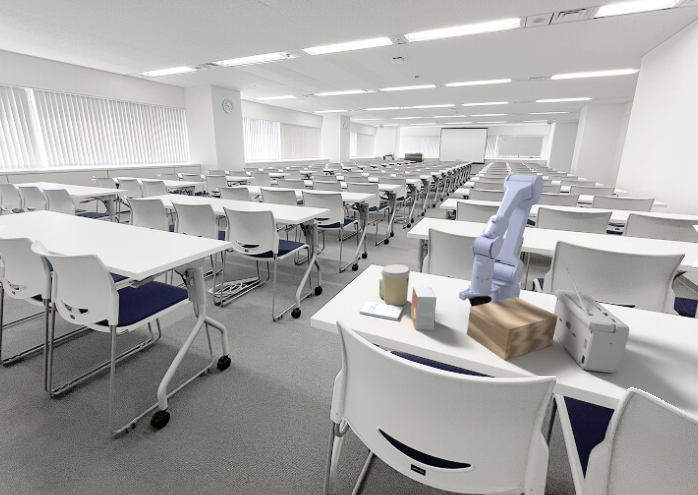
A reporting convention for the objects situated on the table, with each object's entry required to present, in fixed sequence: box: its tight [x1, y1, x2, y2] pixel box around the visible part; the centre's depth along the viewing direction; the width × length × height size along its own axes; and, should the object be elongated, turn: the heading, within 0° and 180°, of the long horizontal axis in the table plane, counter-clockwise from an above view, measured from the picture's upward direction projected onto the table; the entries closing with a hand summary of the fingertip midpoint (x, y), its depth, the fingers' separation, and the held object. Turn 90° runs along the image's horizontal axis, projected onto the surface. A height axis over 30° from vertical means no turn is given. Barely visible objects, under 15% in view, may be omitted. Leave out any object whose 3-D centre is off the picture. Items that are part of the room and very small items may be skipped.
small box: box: [410, 285, 437, 331], centre depth 98 cm, size 8×6×10 cm
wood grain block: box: [466, 297, 558, 361], centre depth 90 cm, size 18×13×9 cm
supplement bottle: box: [378, 269, 384, 300], centre depth 116 cm, size 5×5×10 cm
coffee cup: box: [381, 263, 411, 307], centre depth 112 cm, size 9×9×12 cm
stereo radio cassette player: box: [553, 267, 630, 374], centre depth 84 cm, size 21×8×20 cm, turn 170°
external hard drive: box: [359, 300, 404, 322], centre depth 106 cm, size 2×8×12 cm
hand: (476, 317), depth 102 cm, fingers closed
